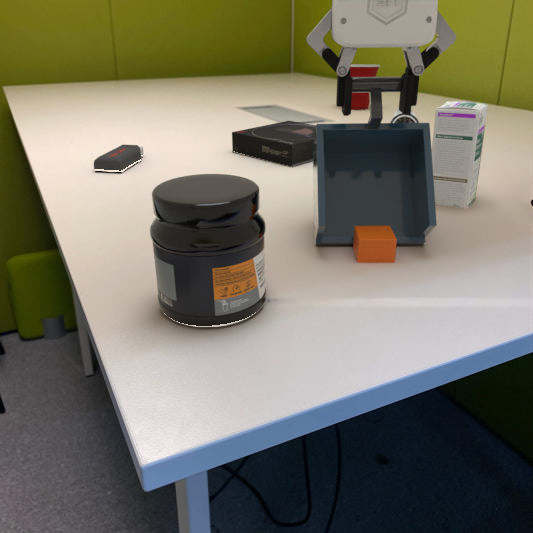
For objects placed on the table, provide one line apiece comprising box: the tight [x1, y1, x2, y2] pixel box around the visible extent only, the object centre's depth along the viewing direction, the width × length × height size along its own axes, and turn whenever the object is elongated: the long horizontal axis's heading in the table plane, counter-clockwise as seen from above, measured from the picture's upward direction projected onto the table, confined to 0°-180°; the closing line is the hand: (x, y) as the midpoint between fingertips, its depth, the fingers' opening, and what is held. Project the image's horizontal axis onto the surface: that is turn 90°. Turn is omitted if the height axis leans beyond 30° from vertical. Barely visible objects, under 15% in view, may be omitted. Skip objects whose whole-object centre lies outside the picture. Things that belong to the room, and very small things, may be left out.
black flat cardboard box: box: [231, 120, 316, 167], centre depth 110 cm, size 16×17×4 cm
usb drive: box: [93, 144, 145, 171], centre depth 102 cm, size 5×12×3 cm, turn 168°
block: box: [352, 226, 397, 264], centre depth 61 cm, size 4×4×4 cm
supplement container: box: [149, 173, 267, 326], centre depth 51 cm, size 10×10×12 cm
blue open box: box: [312, 76, 438, 246], centre depth 62 cm, size 17×13×10 cm
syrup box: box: [431, 100, 489, 210], centre depth 75 cm, size 6×6×14 cm
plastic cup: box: [349, 64, 381, 111], centre depth 153 cm, size 11×11×12 cm
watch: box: [389, 108, 421, 123], centre depth 91 cm, size 6×8×11 cm
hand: (375, 111), depth 60 cm, fingers closed on blue open box, 5 cm apart
